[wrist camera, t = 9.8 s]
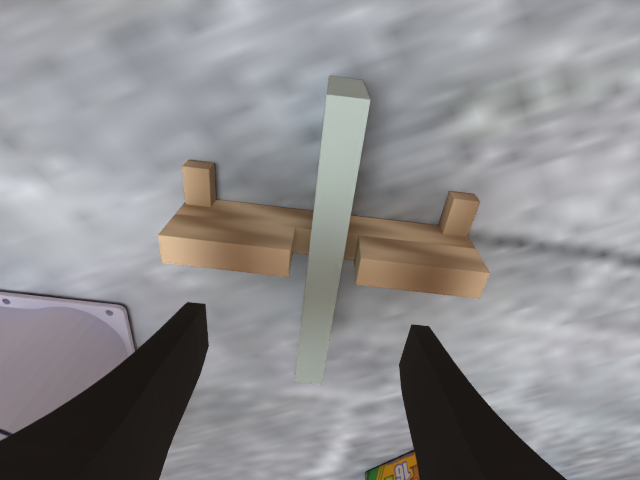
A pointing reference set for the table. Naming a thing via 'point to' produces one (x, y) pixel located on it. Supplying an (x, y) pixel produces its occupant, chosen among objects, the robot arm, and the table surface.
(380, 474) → the chalk box
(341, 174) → the pale gray-green board
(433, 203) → the table surface
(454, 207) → the wooden rack
